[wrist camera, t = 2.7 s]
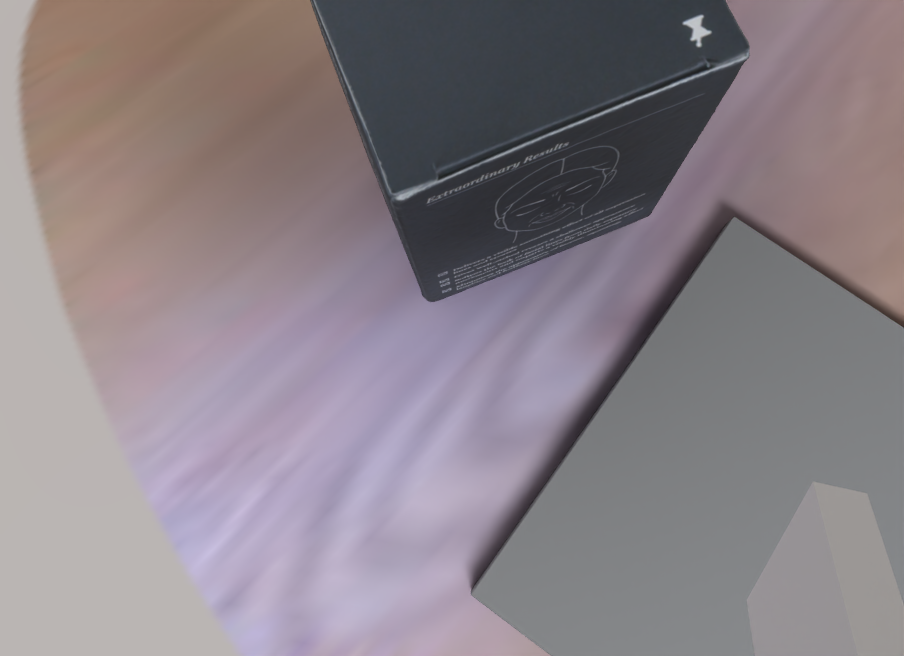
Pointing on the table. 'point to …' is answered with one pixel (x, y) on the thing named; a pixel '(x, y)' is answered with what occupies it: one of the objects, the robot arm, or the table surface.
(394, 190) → the box
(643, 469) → the mat
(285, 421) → the table surface
